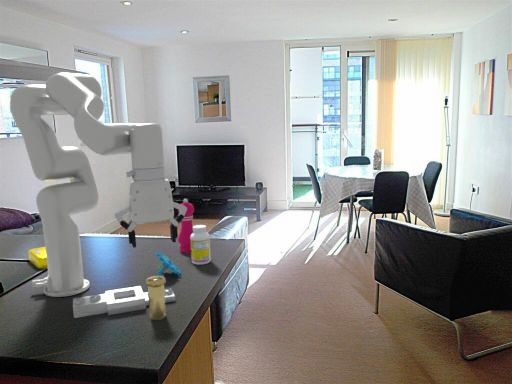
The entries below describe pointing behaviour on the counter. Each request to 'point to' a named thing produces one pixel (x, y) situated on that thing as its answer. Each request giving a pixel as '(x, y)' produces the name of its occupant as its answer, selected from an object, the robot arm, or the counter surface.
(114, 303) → the white studded link plate
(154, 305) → the pin
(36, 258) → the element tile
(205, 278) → the counter surface
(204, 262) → the supplement bottle
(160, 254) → the gear
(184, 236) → the pepper mill
